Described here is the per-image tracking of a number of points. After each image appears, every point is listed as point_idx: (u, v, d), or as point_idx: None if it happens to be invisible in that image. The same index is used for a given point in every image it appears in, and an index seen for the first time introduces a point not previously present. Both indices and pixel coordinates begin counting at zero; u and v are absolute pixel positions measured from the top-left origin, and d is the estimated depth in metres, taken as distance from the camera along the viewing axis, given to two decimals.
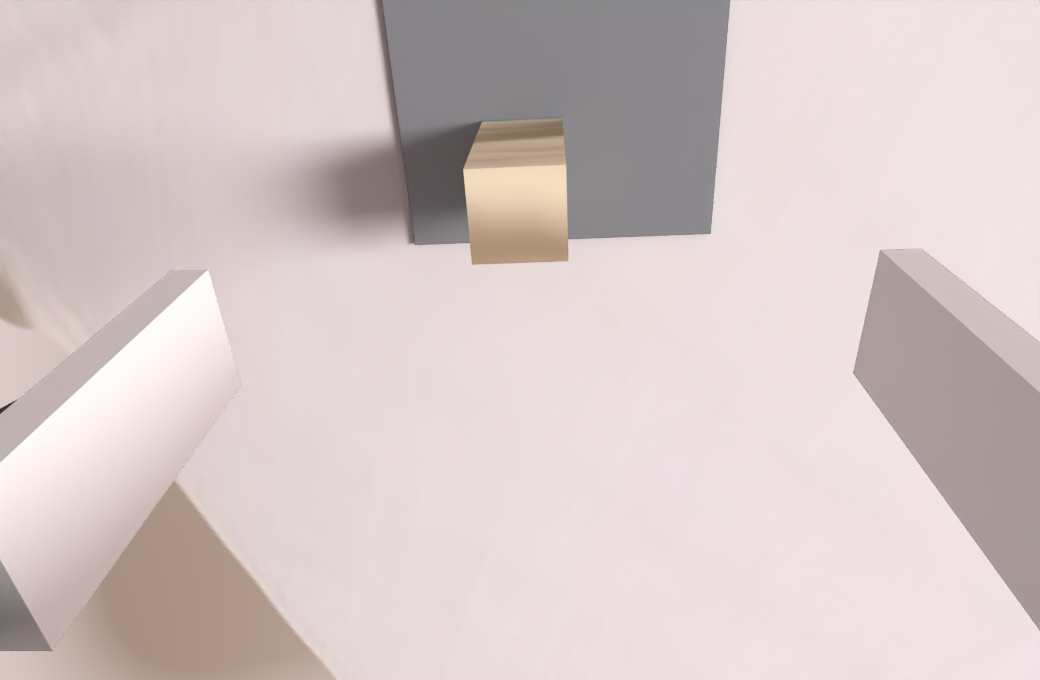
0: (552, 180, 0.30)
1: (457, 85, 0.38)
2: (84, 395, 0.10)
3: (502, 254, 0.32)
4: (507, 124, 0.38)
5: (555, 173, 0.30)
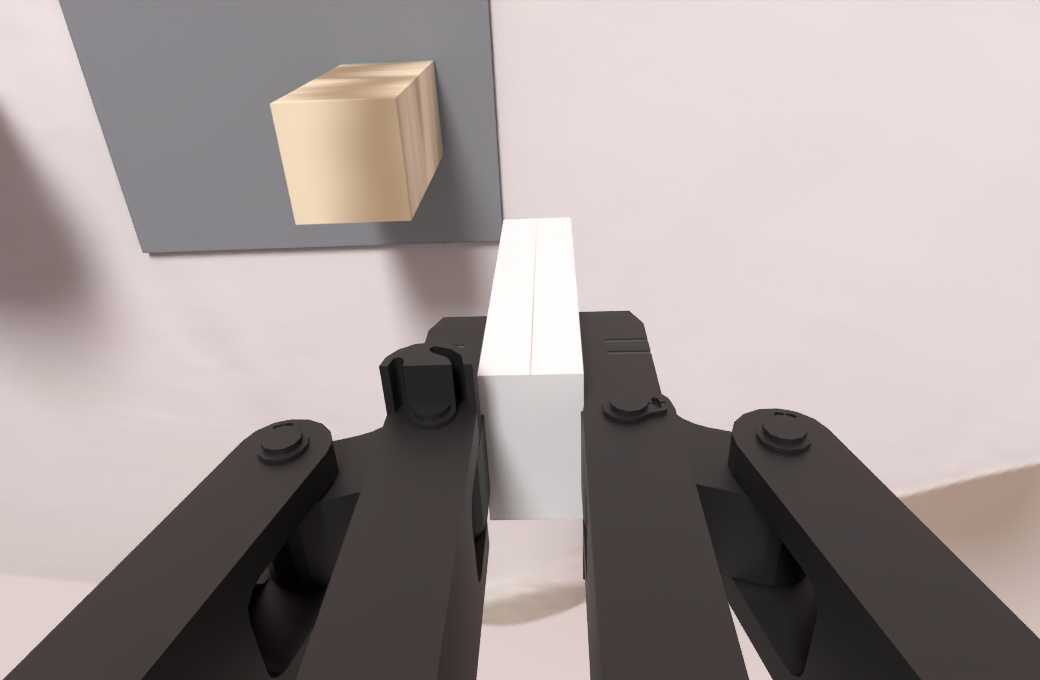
0: (291, 121, 0.25)
1: None
2: None
3: (394, 183, 0.26)
4: None
5: (282, 117, 0.25)
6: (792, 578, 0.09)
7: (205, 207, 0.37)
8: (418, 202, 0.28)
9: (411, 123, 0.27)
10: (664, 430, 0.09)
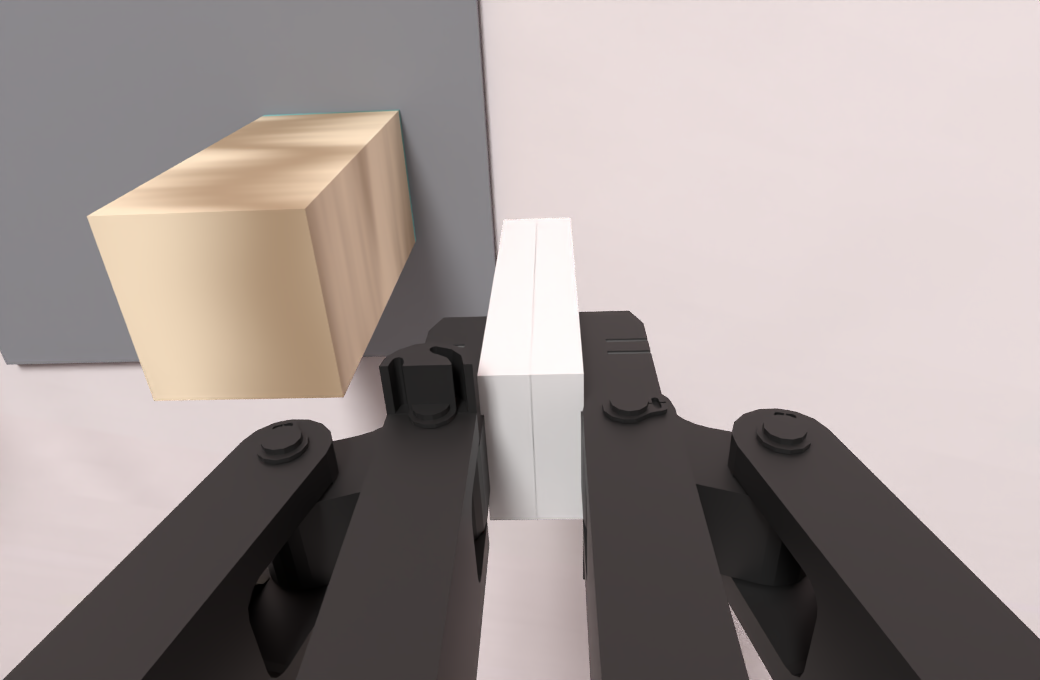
0: (127, 244, 0.14)
1: None
2: None
3: (312, 342, 0.15)
4: None
5: (111, 237, 0.14)
6: (793, 579, 0.09)
7: (85, 307, 0.27)
8: (361, 352, 0.18)
9: (347, 231, 0.17)
10: (664, 430, 0.09)
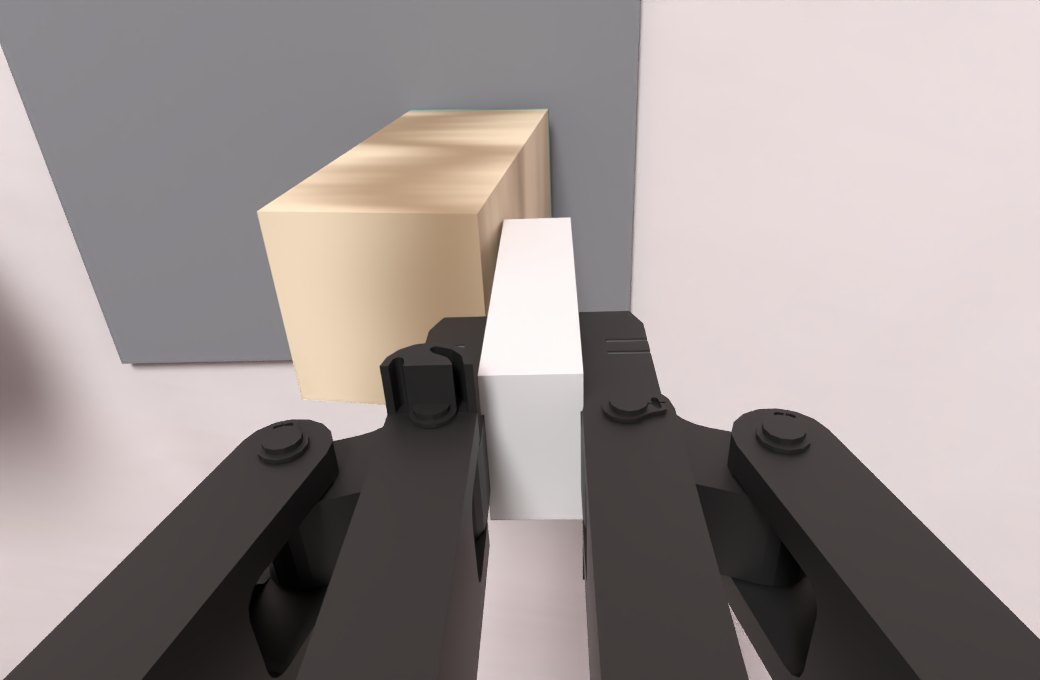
0: (293, 241, 0.14)
1: None
2: None
3: None
4: None
5: (279, 234, 0.14)
6: (792, 578, 0.09)
7: (208, 306, 0.26)
8: None
9: None
10: (664, 430, 0.09)
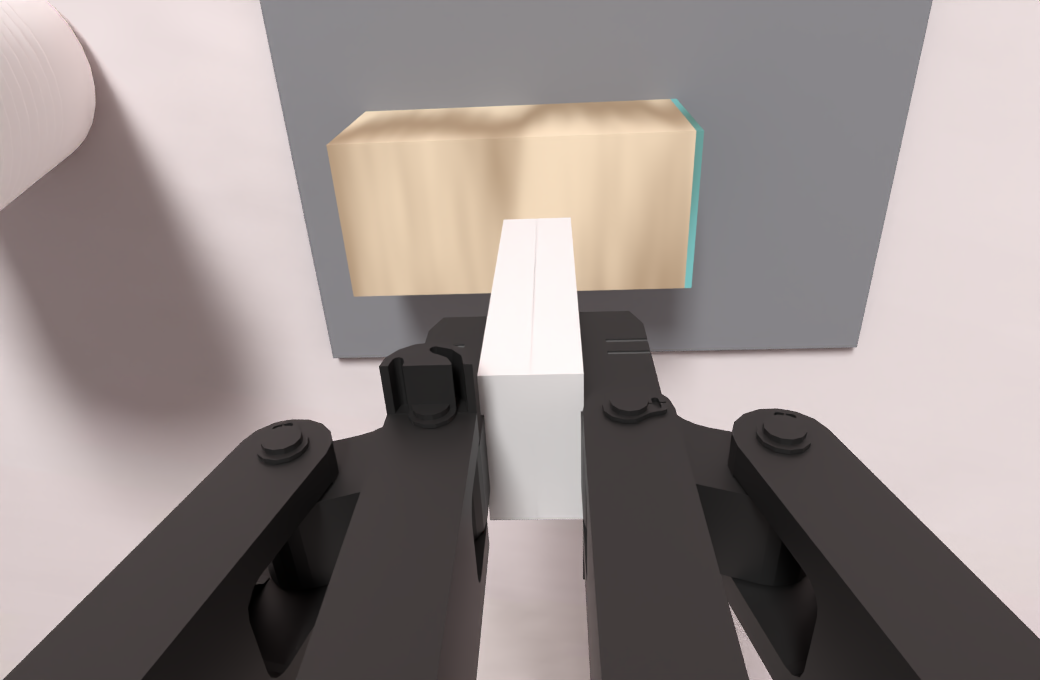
0: None
1: None
2: None
3: None
4: None
5: None
6: (792, 578, 0.09)
7: (432, 299, 0.26)
8: (414, 291, 0.21)
9: (420, 191, 0.19)
10: (664, 430, 0.09)
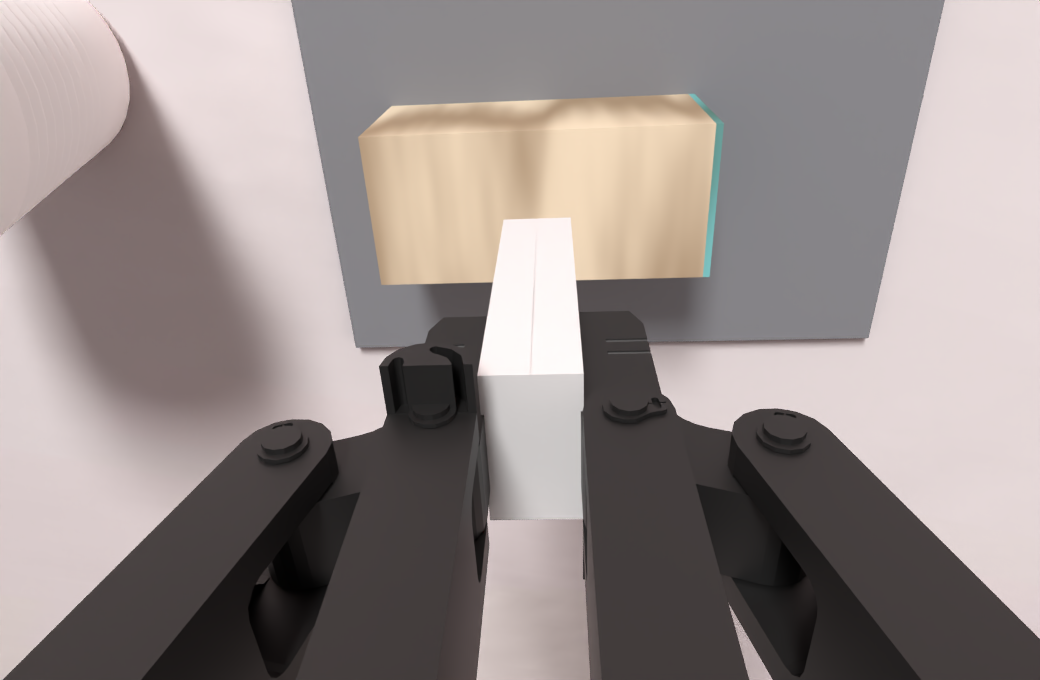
0: None
1: None
2: None
3: None
4: None
5: None
6: (792, 578, 0.09)
7: (453, 290, 0.26)
8: (440, 280, 0.21)
9: (448, 182, 0.20)
10: (664, 430, 0.09)
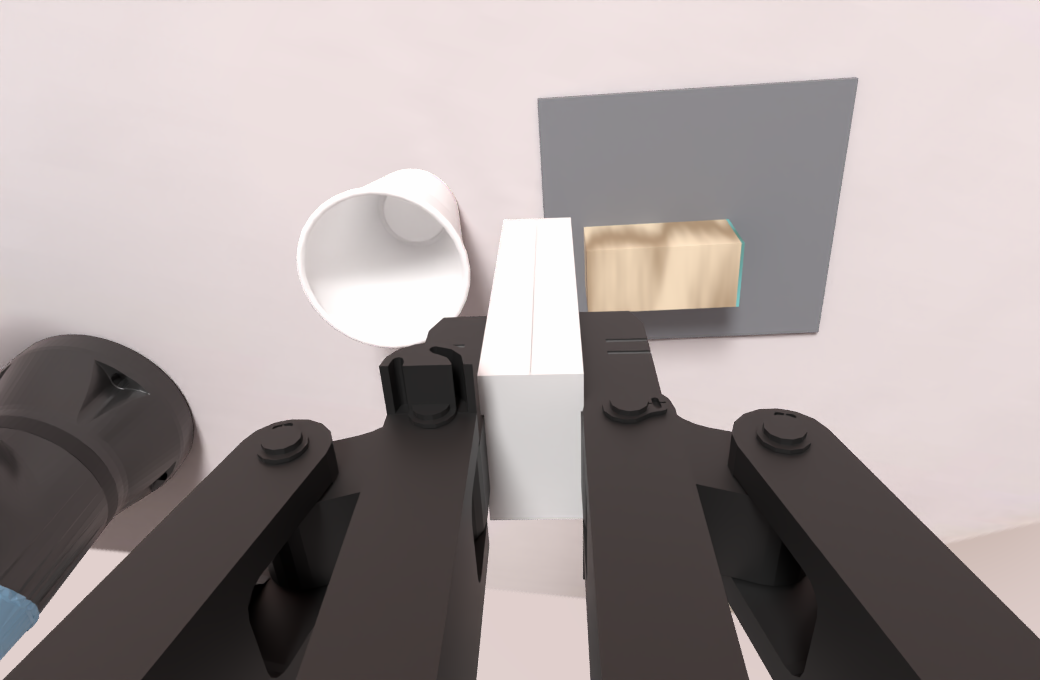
0: None
1: None
2: None
3: (587, 291, 0.46)
4: None
5: None
6: (793, 578, 0.09)
7: None
8: (615, 310, 0.47)
9: (624, 268, 0.45)
10: (664, 430, 0.09)
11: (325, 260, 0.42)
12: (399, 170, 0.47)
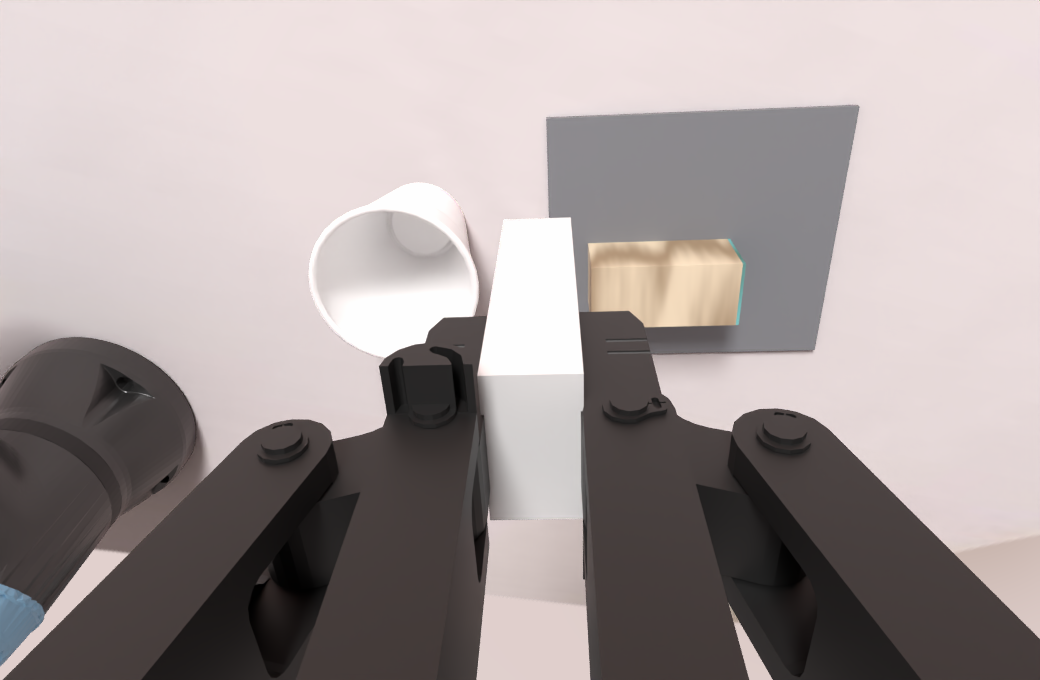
0: (588, 254, 0.49)
1: None
2: None
3: None
4: None
5: (588, 251, 0.49)
6: (792, 578, 0.09)
7: None
8: None
9: (627, 286, 0.46)
10: (664, 430, 0.09)
11: (335, 273, 0.43)
12: (408, 184, 0.47)
